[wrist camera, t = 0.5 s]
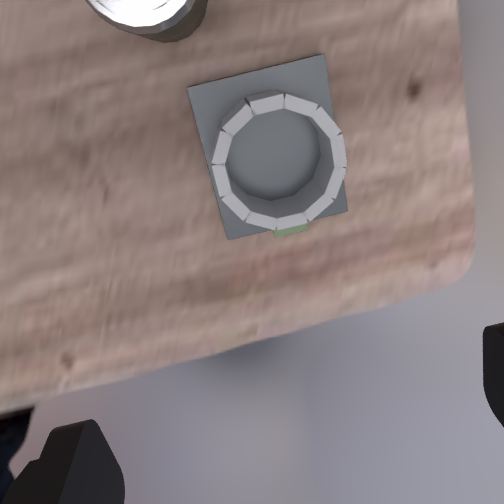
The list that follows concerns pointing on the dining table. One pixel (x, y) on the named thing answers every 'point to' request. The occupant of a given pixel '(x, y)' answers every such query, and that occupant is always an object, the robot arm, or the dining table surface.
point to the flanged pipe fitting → (272, 147)
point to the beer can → (153, 17)
